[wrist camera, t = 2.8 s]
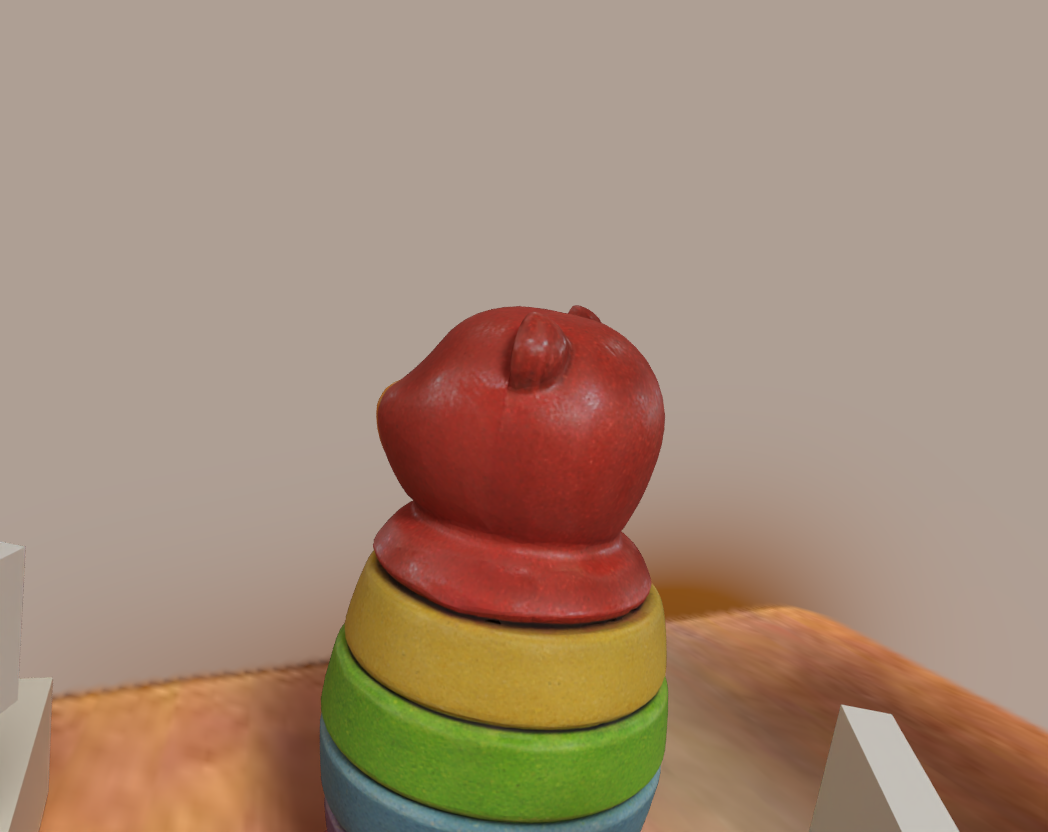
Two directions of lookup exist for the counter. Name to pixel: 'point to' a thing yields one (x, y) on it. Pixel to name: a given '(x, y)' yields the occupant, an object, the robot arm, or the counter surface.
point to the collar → (25, 756)
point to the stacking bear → (506, 594)
